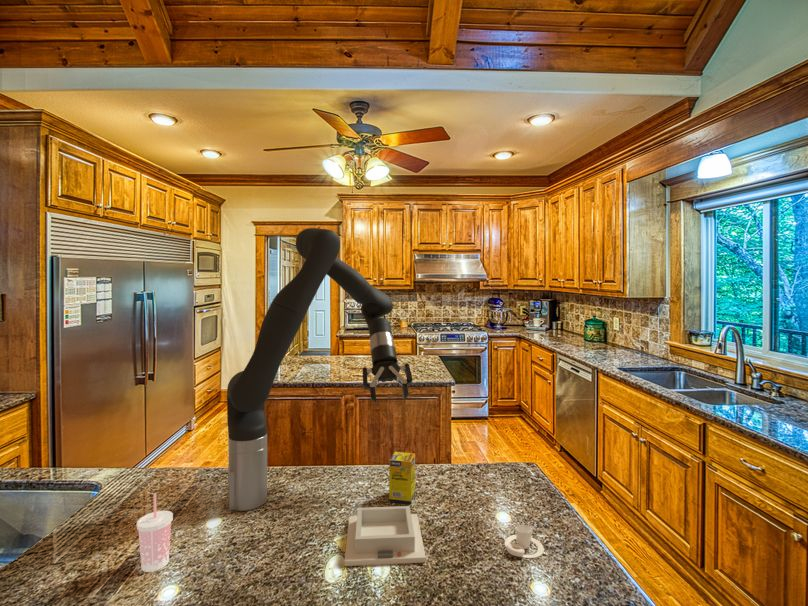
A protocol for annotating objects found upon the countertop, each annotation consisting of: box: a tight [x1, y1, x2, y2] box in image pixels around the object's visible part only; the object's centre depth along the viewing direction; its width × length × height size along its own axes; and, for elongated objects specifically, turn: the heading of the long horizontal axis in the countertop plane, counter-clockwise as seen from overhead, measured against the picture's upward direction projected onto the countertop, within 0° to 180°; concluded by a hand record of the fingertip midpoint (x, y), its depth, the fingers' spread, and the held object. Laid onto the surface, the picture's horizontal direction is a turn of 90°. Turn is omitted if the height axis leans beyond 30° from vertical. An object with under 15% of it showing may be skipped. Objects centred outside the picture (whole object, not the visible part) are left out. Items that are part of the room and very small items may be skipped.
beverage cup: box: [136, 492, 174, 573], centre depth 79 cm, size 6×6×14 cm
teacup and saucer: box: [504, 524, 545, 559], centre depth 85 cm, size 9×8×4 cm
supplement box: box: [388, 451, 416, 505], centre depth 105 cm, size 6×6×11 cm
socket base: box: [343, 505, 427, 567], centre depth 87 cm, size 16×16×4 cm
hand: (390, 399), depth 112 cm, fingers open, 8 cm apart
